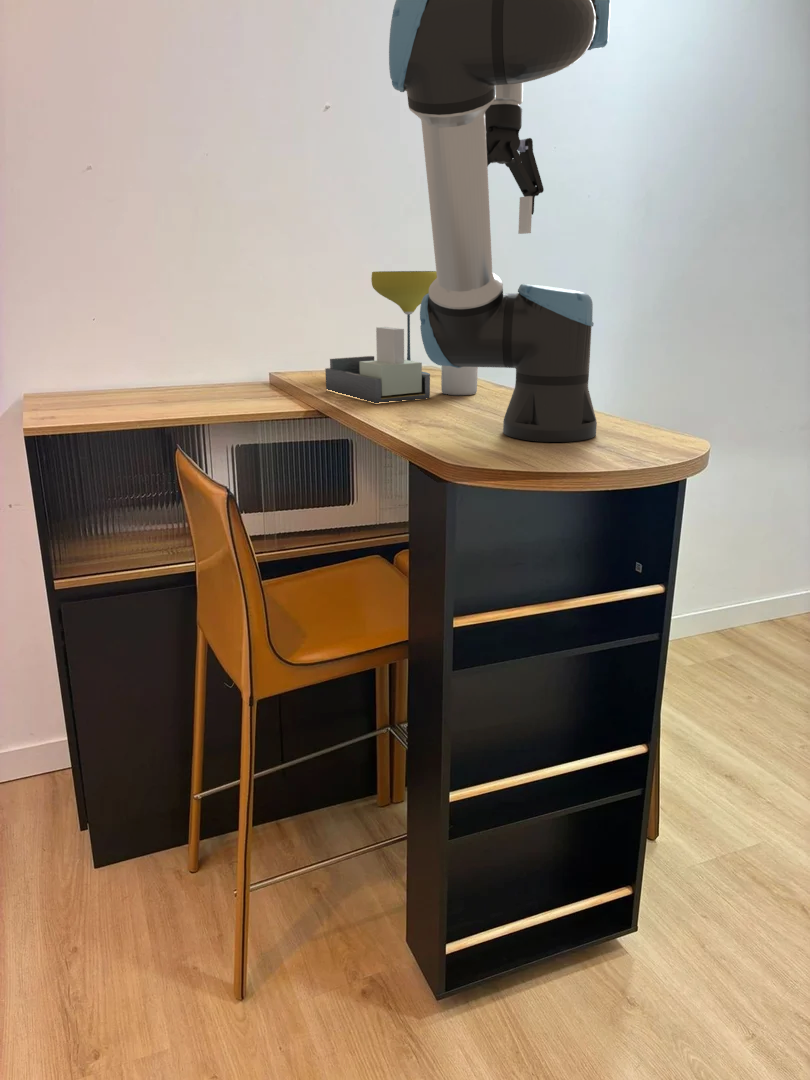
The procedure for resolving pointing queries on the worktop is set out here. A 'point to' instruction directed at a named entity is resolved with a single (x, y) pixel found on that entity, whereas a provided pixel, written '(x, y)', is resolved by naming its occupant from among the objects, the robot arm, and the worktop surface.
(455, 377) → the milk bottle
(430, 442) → the worktop surface
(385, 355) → the block with upright handle
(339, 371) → the bay
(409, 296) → the cocktail glass
